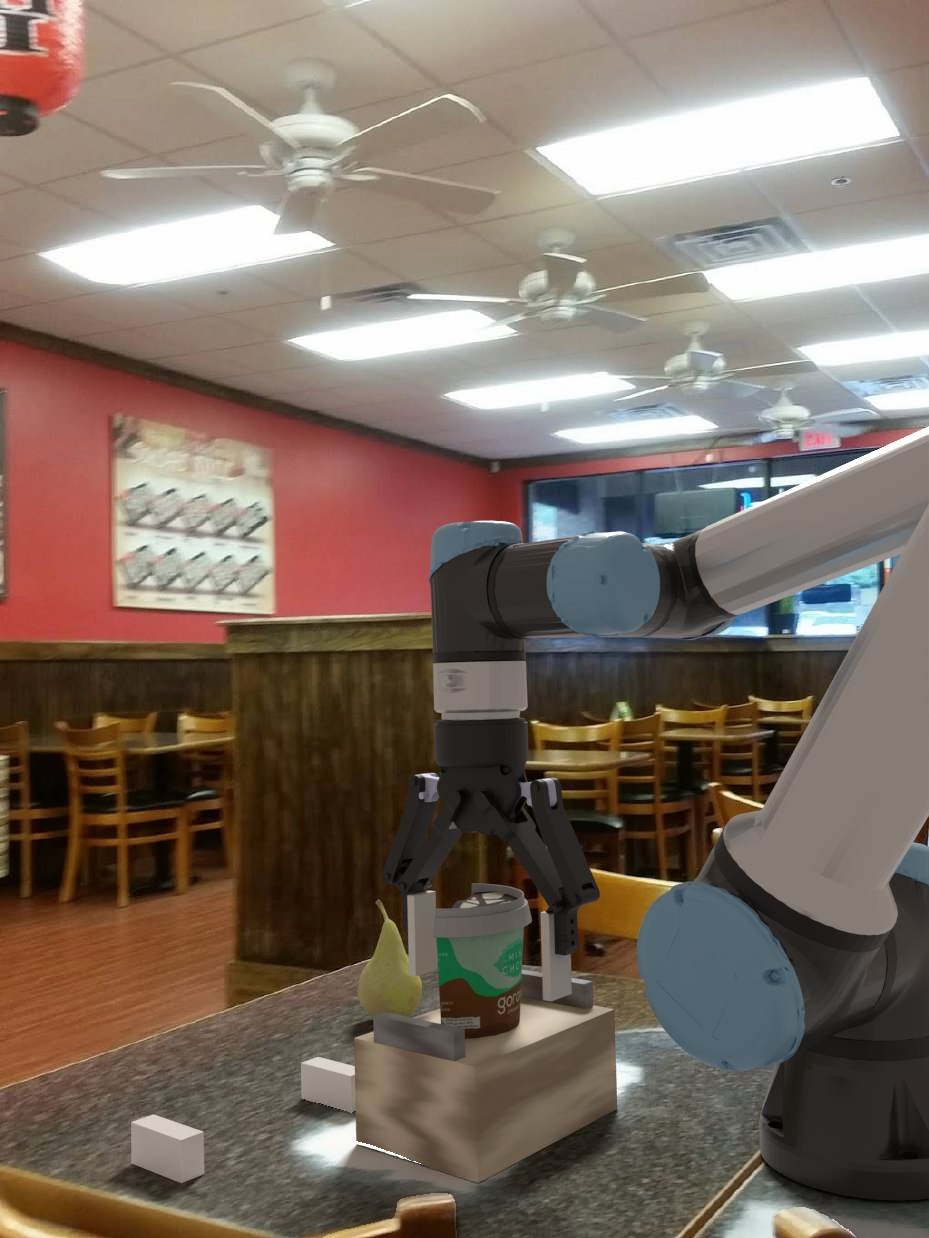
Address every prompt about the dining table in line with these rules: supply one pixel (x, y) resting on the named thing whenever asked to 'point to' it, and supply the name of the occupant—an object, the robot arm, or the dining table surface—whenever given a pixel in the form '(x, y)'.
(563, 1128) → the wooden stand
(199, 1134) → the pair of white blocks
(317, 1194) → the dining table surface
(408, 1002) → the fruit
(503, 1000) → the food container
